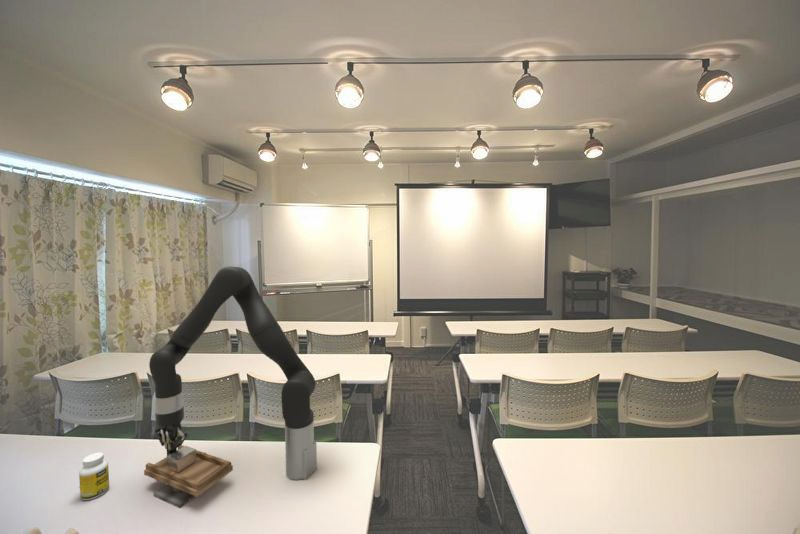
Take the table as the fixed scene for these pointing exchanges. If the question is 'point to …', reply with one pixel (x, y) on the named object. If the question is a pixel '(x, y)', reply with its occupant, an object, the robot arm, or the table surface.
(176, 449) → the robot arm
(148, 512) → the table surface
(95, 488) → the pill bottle
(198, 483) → the wooden tray
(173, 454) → the block
